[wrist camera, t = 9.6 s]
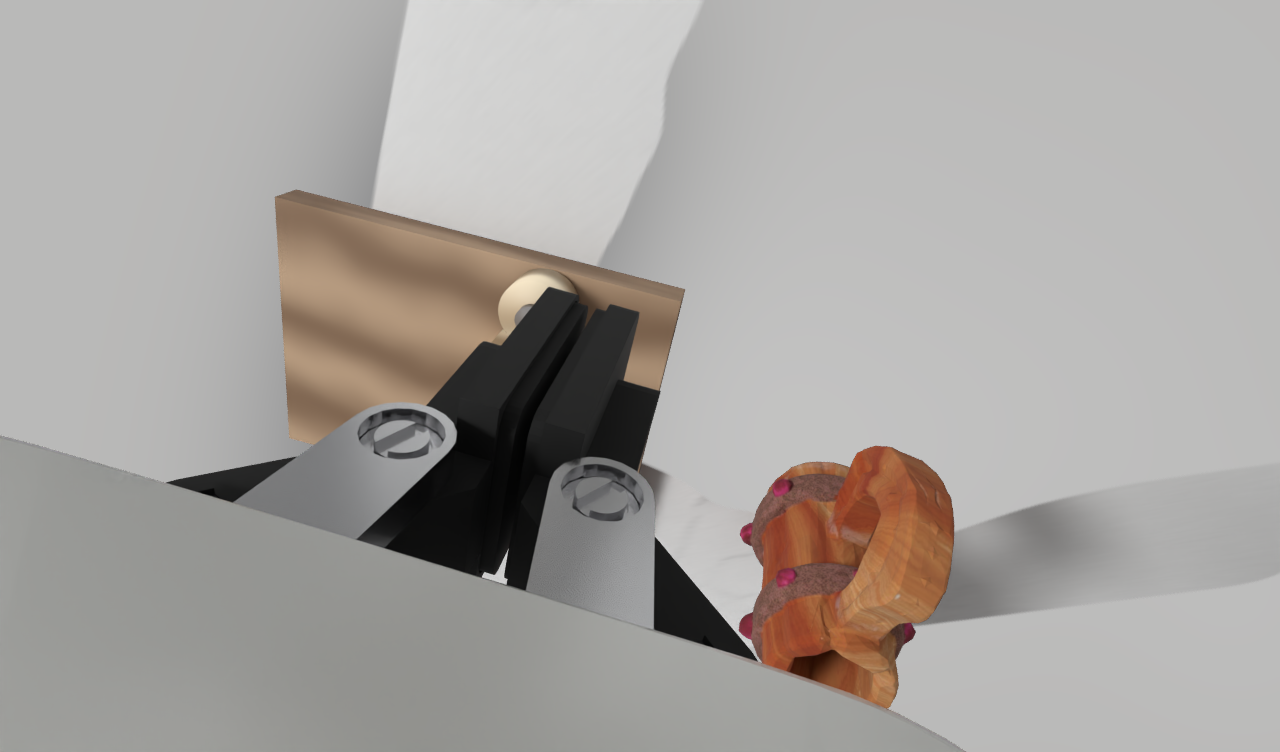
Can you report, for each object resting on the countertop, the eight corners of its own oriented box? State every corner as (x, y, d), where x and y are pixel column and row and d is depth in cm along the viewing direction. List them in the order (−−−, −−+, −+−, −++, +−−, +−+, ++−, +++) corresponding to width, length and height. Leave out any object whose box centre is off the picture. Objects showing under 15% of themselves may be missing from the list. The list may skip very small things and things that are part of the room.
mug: (833, 573, 47) (858, 788, 33) (726, 527, 46) (708, 724, 33) (959, 409, 40) (1053, 599, 26) (832, 353, 39) (864, 517, 26)
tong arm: (513, 258, 38) (500, 270, 36) (585, 279, 38) (575, 293, 36) (476, 495, 46) (463, 516, 44) (535, 513, 46) (524, 535, 44)
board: (296, 189, 40) (274, 196, 39) (685, 289, 39) (681, 301, 37) (306, 423, 49) (289, 437, 47) (628, 512, 47) (623, 530, 45)
